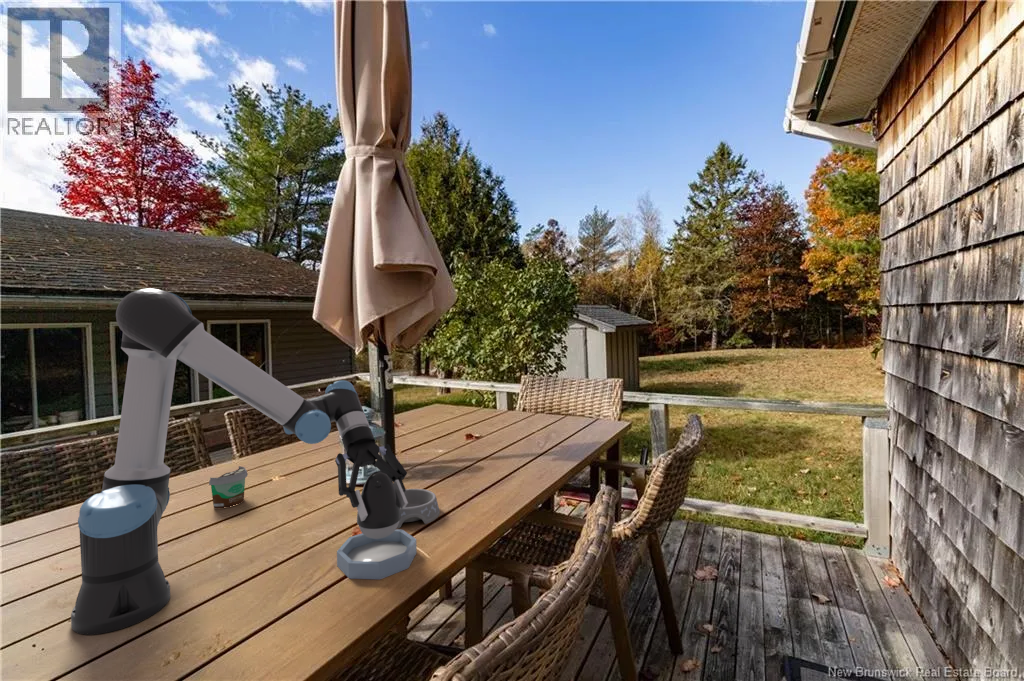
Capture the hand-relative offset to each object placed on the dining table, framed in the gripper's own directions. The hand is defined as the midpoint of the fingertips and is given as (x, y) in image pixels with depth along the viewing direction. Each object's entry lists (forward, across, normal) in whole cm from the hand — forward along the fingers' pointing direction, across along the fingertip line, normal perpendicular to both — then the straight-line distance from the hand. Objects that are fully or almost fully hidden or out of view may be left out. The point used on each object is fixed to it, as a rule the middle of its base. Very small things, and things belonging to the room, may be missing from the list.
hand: (385, 511), depth 110 cm
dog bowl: (-6, -18, -24) cm, 31 cm away
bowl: (+7, +1, -11) cm, 13 cm away
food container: (-37, +19, -55) cm, 69 cm away
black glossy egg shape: (+2, 0, -7) cm, 7 cm away
